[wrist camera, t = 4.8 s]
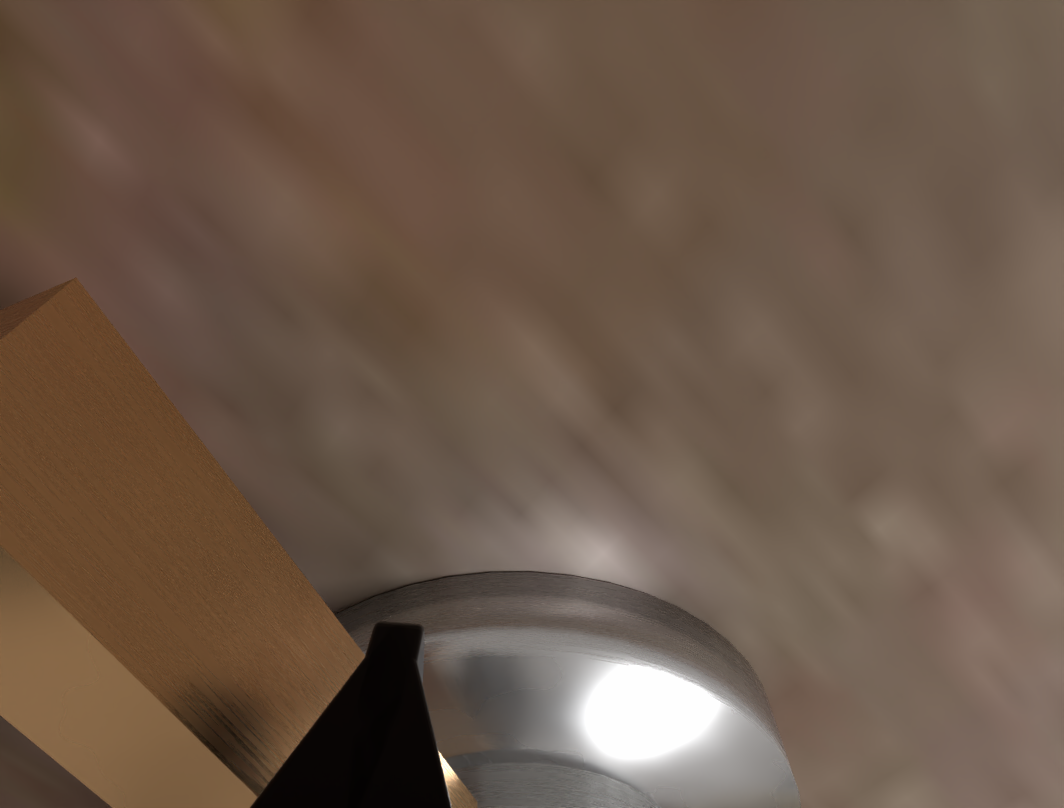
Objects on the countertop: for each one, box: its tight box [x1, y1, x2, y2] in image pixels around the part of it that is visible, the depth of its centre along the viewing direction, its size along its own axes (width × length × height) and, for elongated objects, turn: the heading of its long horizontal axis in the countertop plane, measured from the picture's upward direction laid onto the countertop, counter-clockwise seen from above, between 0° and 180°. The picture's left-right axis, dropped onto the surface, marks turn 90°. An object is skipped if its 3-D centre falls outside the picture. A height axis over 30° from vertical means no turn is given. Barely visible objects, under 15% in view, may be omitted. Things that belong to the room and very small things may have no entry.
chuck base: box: [335, 572, 801, 808], centre depth 17 cm, size 12×12×2 cm
